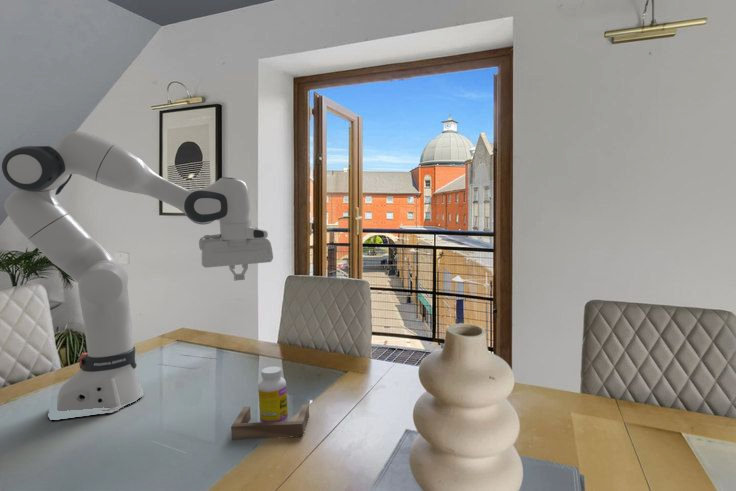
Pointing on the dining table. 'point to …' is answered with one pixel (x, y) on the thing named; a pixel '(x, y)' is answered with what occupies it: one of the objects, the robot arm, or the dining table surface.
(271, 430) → the walnut bay
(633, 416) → the dining table surface
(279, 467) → the dining table surface
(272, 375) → the supplement bottle
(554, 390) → the dining table surface
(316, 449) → the dining table surface
